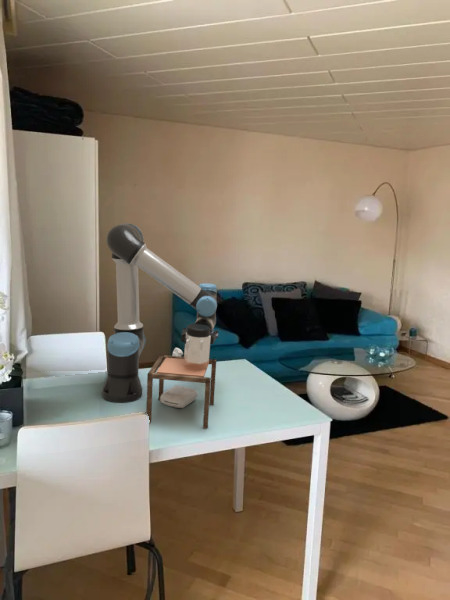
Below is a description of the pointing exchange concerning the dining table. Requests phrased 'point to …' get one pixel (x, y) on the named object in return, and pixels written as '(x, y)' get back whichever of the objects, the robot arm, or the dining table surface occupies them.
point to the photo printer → (178, 396)
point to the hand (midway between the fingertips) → (194, 345)
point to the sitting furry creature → (177, 352)
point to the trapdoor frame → (153, 375)
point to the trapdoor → (182, 367)
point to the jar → (197, 343)
